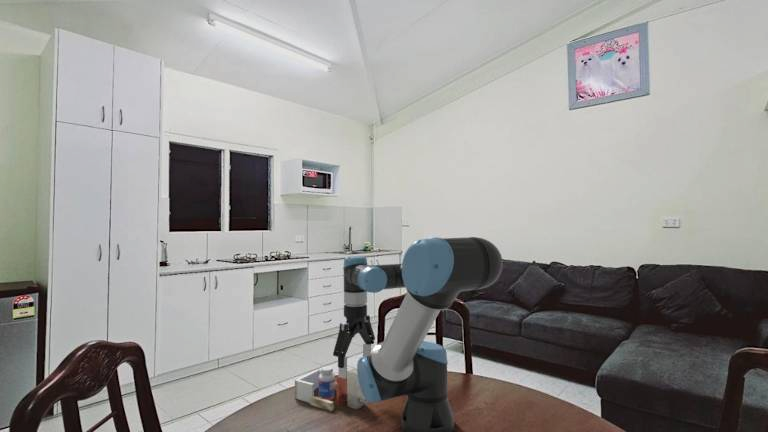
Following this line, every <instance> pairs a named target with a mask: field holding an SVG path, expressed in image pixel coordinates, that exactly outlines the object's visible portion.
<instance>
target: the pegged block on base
mask: <svg viewBox="0 0 768 432" xmlns="http://www.w3.org/2000/svg"><path fill="white" fill-rule="evenodd" d="M336 382H337V391H336V406H338V407H339V406H341V405H343V404H344V403H346V402H347V403H346V404H347V407H348V408H350V409H351V408H352V409H355V410H359V409H360V408H362V407H363V406H366V405H368V403H369V402H368V401H367V400H366V399H365V397H364V396H363V394H362V391H361V388H360V385H359V381H358V374H357V367H353V368H350V370H347V378H346V379H345V378H341V377H339V375H337V376H336Z"/></svg>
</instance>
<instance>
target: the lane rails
mask: <svg viewBox="0 0 768 432" xmlns="http://www.w3.org/2000/svg"><path fill="white" fill-rule="evenodd" d="M335 392H337V381H335ZM309 405H310V406H313V407H314V408H315V407H316V408H320V409H322V410H325V411H326V410H327V411H328V412H329V411H330V412H333V411H334V409H335V407H334V406H335V404H334V401H332V400H325V399H322V398H319V396H318V397H317V396H315V395H314V396H311V397H310V403H309Z"/></svg>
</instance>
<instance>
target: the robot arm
mask: <svg viewBox="0 0 768 432" xmlns="http://www.w3.org/2000/svg"><path fill="white" fill-rule="evenodd" d="M503 267H504V263H503V257H502V254H501V252H500V250H499V248H498V247H497V246H495V244H494V243H493V242H490V241H489V240H487V239H485V238H481V237H477V236H476V237H475V236H469V237H451V238H450V237H449V238H448V237H447V238H446V237H445V238H442V237H439V236H438V237H436V236H433V237H429V238H422V239H418V240H415V241H414V242H413V243H412V244H410V245H409V246H408V248H407V249H406V251H405V253H404V256H403V258H402V262H401V263H395V264H394V263H393V264H391V263H390V264H377V265H369V264H368V258H367V257H366V256H363V255H352V256H351V255H350V256H346V257H345V258H344V259H343V269H342V270H343V303H344V305H343V316H344V317H345V319H346V322H345V323H344V322H340V323H339V327H338V329H339V330H338V334H337V338H336V341H335V346H334V349H333V353H332V356H333V357H337V367H338V376H339V377H341V378H345V379H346V378H347V371H348V356H346V354H347V352H348V350H349V347H350V345H351V342H352V341H353V338H355V336H356V335H357V334H359V335H360V337H361V338H362V340H363V342H364V343H363V344H362V357H360V358H359V359H358V360H357V365H356V368H357V374H358V381H359V385H360V388H361V391H362V394H363V396H364V397H365V399H366V400H367V401H368V403H378V402H379V403H381V402H383V401H387V400H391V399H395V398H400V397H404V396H406V400H405V402H404V405H403V410H402V412H401V417H400V418H401V419H400V421H401V422H400V425H401V428H402V430H403V431H405V432H453V431H454V429H455V418H454V414H453V412H452V408H451V406H450V401H449V399H448V363H449V362H448V356H447V355H448V354H447V350H446V348H445V347H444V346H442V345H441V344H438V343H435V342H431V341H424V340H425V338H426V337H427V335H428V333H429V331H430V330H431V328H432V326H433V324H434V322H435V321H436V319H437V317H438V316H439V314H440V312H441V311H444V310H448V308H450V307H451V306H452V305H453V304H454V302H455V300H456V299H457V297H458V295H459V294H460V293H461V292H469V291H476V290H482V289H485V288H489V287H490V286H491V285H493V284H495V282H497V280H498V279H499V278H500V277H501V274H502V272H503ZM402 288H405V289H406V291H407V292H406V294H405V295H404V298H403V300H402V302H401V304H400V306H399V308H398V311H397V313H396V315H395V317H394V319H393V321H392V322H391V325H390V327H389V329H388V331H387V334H386V336H385V338H384V339H383V341H381V342H379V343H378V344H376V345H375V347H374V348H373V349H372V345H374V344H375V340H376V337H375V334H374V329H373V326H372V324H371V323H372V322H371V317H370V315H368V305H367V303H368V293H373V294H376V293H380V292H381V291H382V290H391V289H392V290H393V289H402Z"/></svg>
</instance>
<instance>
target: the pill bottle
mask: <svg viewBox="0 0 768 432" xmlns="http://www.w3.org/2000/svg"><path fill="white" fill-rule="evenodd" d="M320 369H321V373H322V374H320V375H319V387H318V398H322V399H325V400H329V401H332V400H333V399H334V398H335V394H336V393H335V392H336V390H335V383H336V376H335V375H336V374H335V375H334V374H333V372H334V367H332V366H331V365H329V366H326V365H325V366H322V367H321V368H320Z"/></svg>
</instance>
